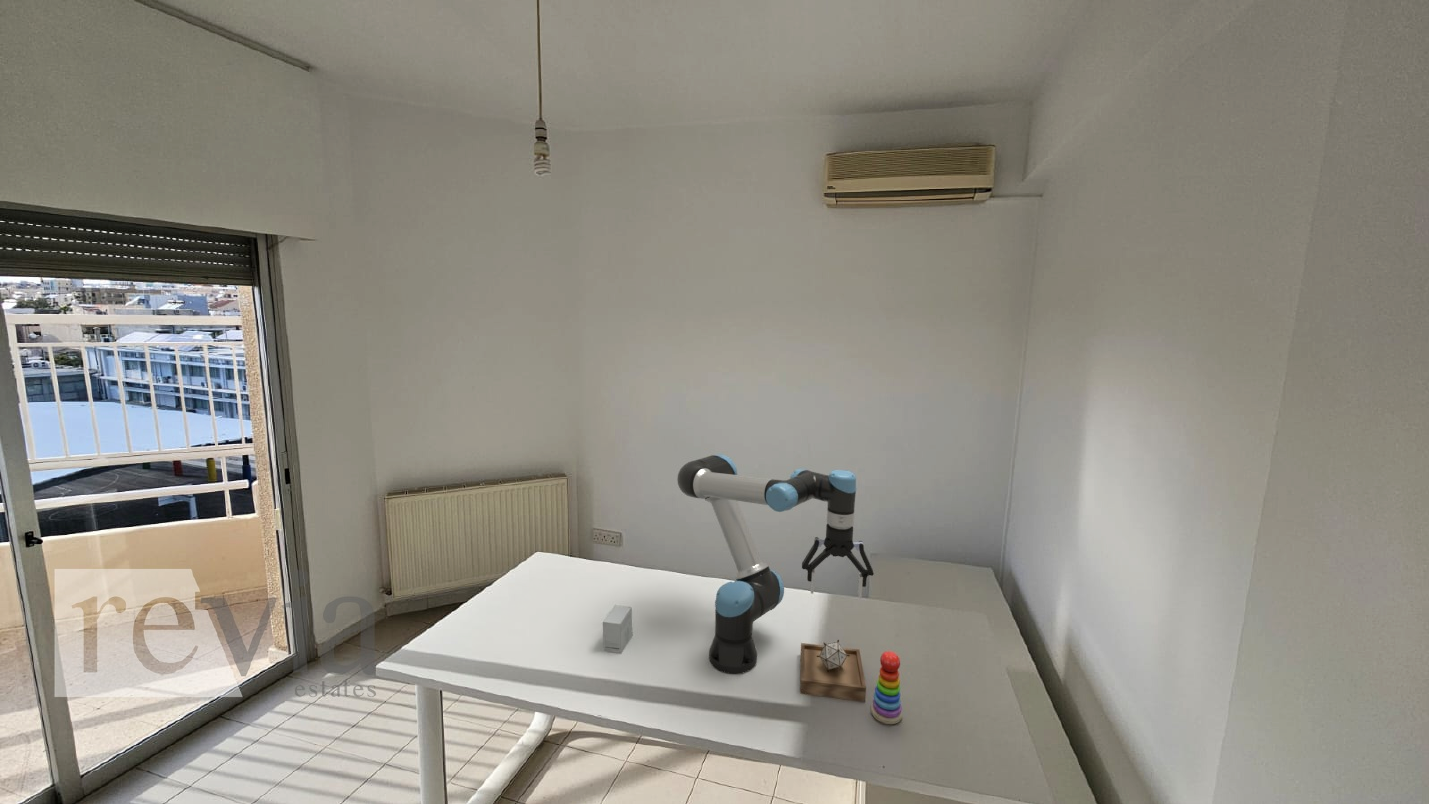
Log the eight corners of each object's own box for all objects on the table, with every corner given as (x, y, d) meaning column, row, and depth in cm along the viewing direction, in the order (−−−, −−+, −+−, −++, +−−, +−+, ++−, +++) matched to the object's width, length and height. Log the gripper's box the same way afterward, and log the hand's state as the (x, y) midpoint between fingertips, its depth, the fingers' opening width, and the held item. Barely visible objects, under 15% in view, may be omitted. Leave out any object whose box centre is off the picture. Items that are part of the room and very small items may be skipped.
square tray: (800, 693, 154) (801, 680, 154) (800, 655, 172) (801, 643, 171) (865, 701, 152) (866, 688, 151) (858, 661, 169) (859, 649, 169)
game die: (837, 682, 160) (850, 671, 153) (810, 669, 161) (822, 657, 155) (843, 654, 167) (855, 642, 160) (817, 641, 168) (828, 629, 161)
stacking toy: (866, 705, 150) (871, 643, 147) (894, 704, 151) (899, 642, 148) (877, 726, 142) (882, 662, 140) (906, 725, 143) (912, 661, 140)
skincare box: (614, 632, 182) (614, 604, 180) (632, 635, 181) (632, 606, 179) (602, 651, 172) (601, 620, 170) (621, 654, 171) (621, 623, 169)
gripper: (795, 526, 153) (792, 595, 156) (887, 533, 149) (881, 604, 152) (796, 516, 160) (792, 583, 163) (883, 523, 156) (877, 591, 159)
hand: (835, 593), depth 158 cm, fingers open, 13 cm apart
